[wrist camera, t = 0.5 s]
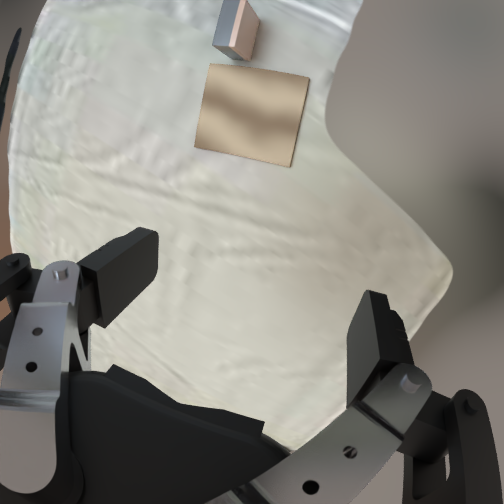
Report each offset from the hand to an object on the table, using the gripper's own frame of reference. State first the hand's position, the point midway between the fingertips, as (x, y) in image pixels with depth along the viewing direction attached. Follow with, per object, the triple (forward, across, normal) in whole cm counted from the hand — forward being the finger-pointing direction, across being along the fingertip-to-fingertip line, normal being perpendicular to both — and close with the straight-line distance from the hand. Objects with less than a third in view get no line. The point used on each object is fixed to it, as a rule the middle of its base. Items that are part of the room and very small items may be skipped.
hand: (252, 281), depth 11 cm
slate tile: (+26, +10, -16) cm, 32 cm away
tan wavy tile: (+26, +8, -6) cm, 28 cm away
